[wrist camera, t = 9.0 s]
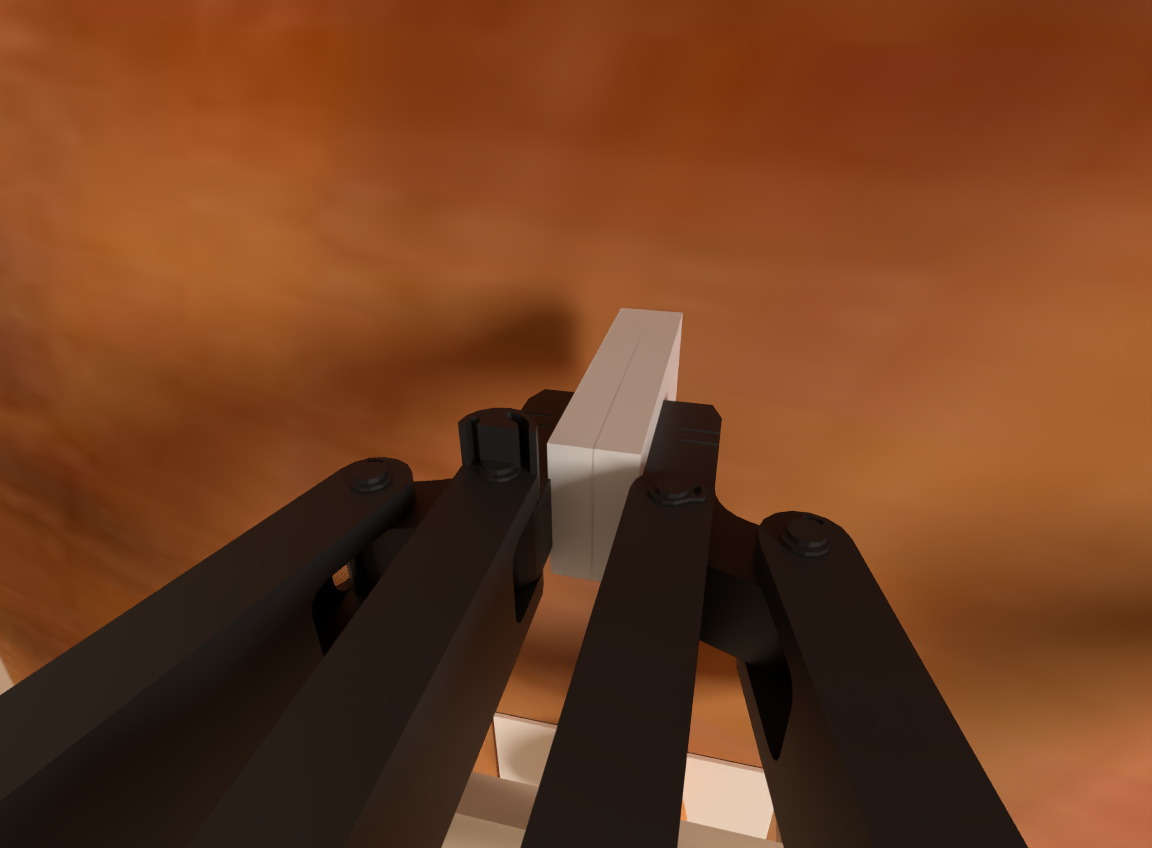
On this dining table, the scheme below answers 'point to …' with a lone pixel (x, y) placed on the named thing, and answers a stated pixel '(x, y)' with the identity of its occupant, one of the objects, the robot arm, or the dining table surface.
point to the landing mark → (709, 784)
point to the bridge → (502, 809)
